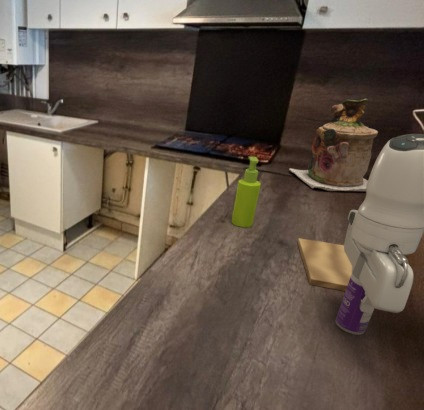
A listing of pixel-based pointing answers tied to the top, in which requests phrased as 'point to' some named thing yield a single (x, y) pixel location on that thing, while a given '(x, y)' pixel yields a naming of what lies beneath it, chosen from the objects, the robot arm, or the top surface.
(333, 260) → the cutting board
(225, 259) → the top surface
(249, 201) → the soap dispenser
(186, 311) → the top surface
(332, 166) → the cookie jar
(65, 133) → the top surface
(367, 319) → the container
